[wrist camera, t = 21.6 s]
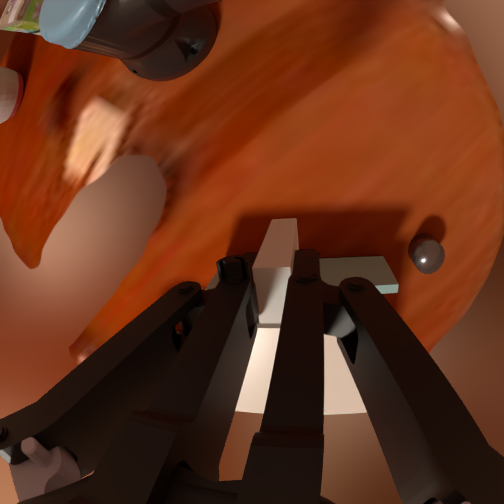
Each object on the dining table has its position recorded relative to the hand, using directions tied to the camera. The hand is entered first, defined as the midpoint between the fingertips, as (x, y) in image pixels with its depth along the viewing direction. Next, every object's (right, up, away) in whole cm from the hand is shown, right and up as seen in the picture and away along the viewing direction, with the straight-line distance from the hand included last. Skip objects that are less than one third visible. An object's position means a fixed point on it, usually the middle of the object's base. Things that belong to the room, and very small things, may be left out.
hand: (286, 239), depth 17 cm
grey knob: (+24, 0, +20) cm, 31 cm away
